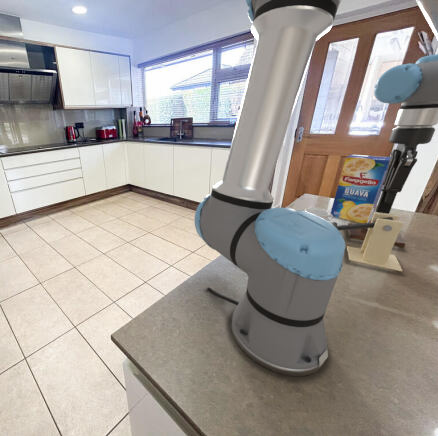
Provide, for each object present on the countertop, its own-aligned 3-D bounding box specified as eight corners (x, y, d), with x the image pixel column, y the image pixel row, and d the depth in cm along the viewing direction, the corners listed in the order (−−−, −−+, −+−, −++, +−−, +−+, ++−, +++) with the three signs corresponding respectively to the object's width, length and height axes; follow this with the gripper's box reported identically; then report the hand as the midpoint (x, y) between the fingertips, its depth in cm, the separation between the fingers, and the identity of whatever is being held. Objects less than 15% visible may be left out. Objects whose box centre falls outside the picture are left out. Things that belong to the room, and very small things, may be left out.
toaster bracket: (348, 263, 62) (363, 219, 57) (345, 249, 68) (359, 208, 63) (400, 274, 57) (422, 227, 52) (393, 258, 63) (412, 215, 58)
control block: (348, 240, 72) (352, 229, 71) (346, 229, 79) (349, 218, 77) (402, 250, 66) (408, 238, 64) (395, 237, 73) (400, 225, 71)
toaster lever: (332, 237, 63) (330, 228, 62) (331, 228, 67) (330, 220, 67) (397, 232, 55) (395, 223, 55) (391, 223, 60) (390, 214, 59)
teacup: (301, 228, 81) (304, 215, 80) (295, 216, 90) (297, 205, 88) (335, 230, 78) (339, 218, 76) (325, 219, 87) (328, 207, 85)
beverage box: (335, 210, 93) (352, 154, 84) (372, 218, 85) (394, 157, 76) (329, 215, 90) (345, 157, 81) (366, 224, 81) (389, 160, 73)
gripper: (446, 128, 53) (406, 222, 62) (427, 124, 62) (394, 206, 72) (399, 129, 57) (368, 217, 66) (388, 125, 66) (362, 203, 76)
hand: (382, 212), depth 69 cm, fingers closed
